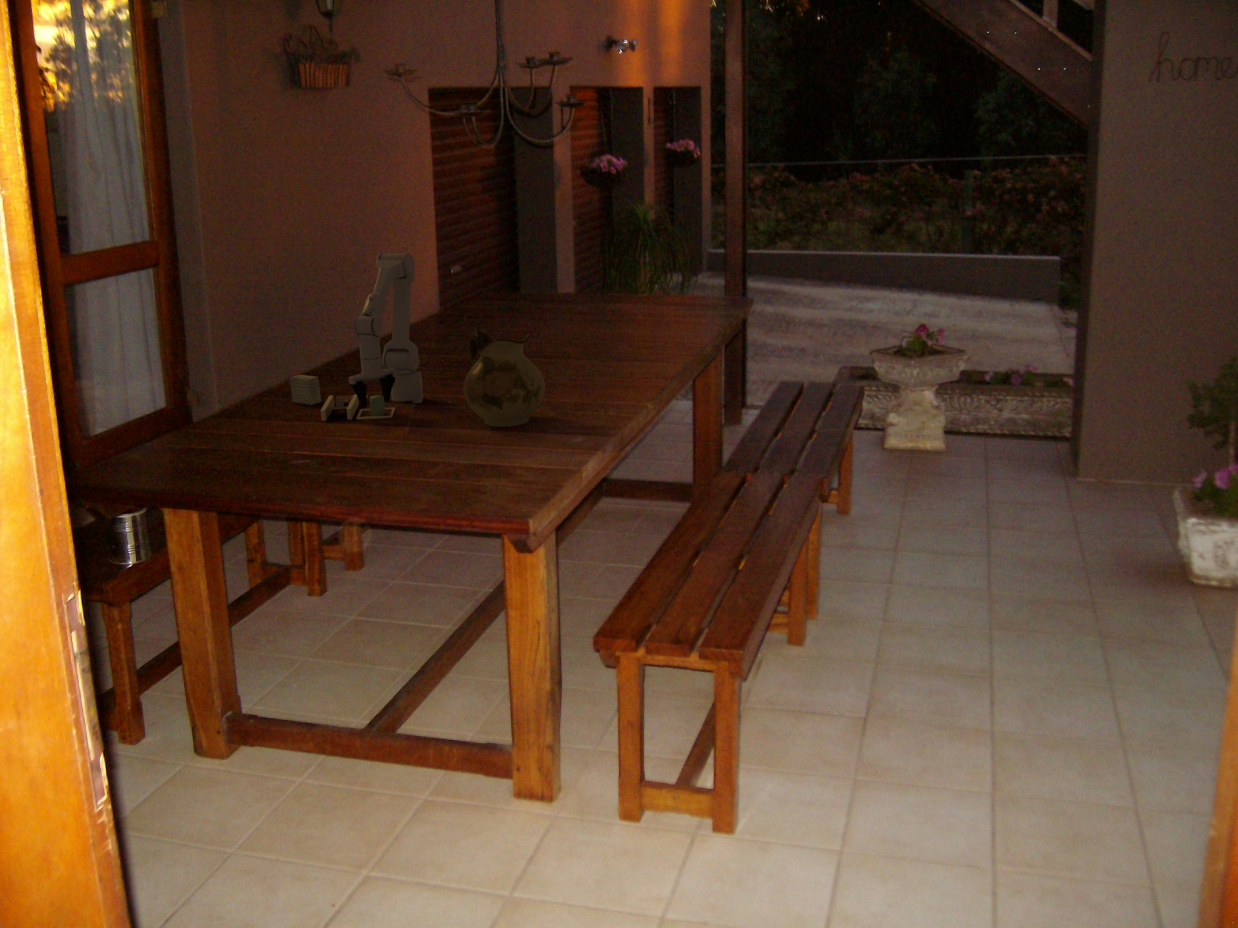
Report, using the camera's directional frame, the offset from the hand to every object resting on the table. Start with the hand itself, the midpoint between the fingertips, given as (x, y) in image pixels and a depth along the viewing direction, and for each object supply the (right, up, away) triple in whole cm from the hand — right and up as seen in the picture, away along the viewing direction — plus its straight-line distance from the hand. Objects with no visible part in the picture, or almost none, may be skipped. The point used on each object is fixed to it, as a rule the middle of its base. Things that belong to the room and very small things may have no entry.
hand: (375, 404), depth 352 cm
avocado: (+1, -3, +1) cm, 3 cm away
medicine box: (-24, 0, +18) cm, 30 cm away
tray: (0, -4, +1) cm, 4 cm away
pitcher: (+38, -5, -8) cm, 39 cm away
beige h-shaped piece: (-11, -3, +5) cm, 12 cm away
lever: (-9, -1, +6) cm, 11 cm away
